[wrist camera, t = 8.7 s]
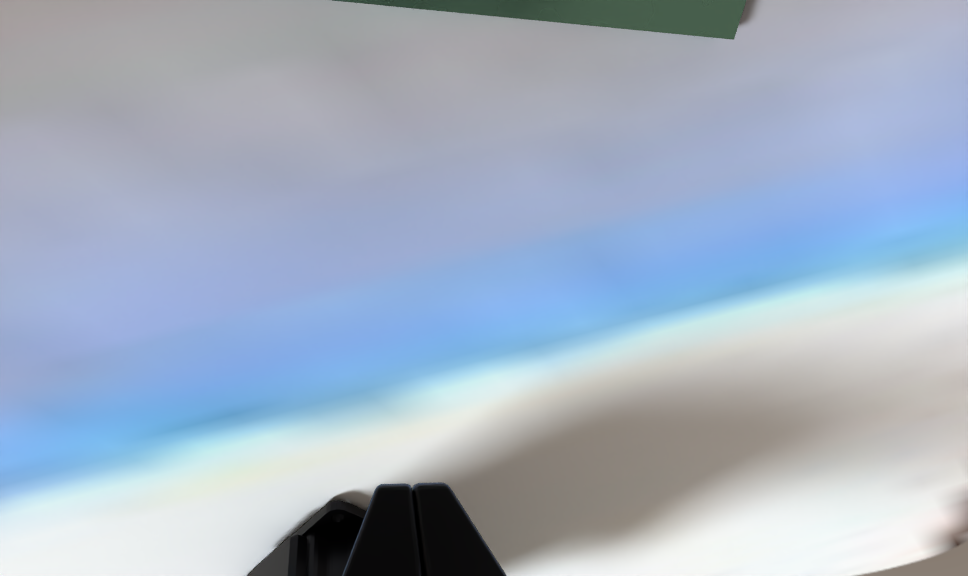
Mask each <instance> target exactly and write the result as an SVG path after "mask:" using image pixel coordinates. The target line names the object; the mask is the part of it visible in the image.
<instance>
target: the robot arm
mask: <svg viewBox="0 0 968 576" xmlns="http://www.w3.org/2000/svg"><path fill="white" fill-rule="evenodd" d="M247 576H506V574H505V573H504V571H503V569H502V568H501V566H500V565H499V563H498V562H497V560H496V558H495V557H494V555H493V554H492V552H491V551H490V549H489V547H488V546H487V544H486V543H485V541H484V540H483V538H482V536H481V535H480V533H479V532H478V530H477V529H476V527H475V525H474V524H473V522H472V521H471V519H470V518H469V516H468V514H467V513H466V511H465V510H464V508H463V507H462V505H461V504H460V502H459V500H458V499H457V497H456V496H455V494H454V493H453V491H452V490H451V488H450V487H449V486H448V485H447V484H445V483H418V484H415V485H414V486H413V488H411V486H410V485H408V484H381V485H379V486H377V488H376V489H375V491H374V494H373V496H372V499H371V501H370V504H369V507H368V509H367V511H365V510H363V509H361V508H358V507H356V506H354V505H352V504H349V503H347V502H344V501H333V502H330V503H328V504H327V505H326V506H324V507H323V508H322V509H321V510H320V511H319V512H318V513H317V514H315V515H314V516H313V517H312V518H311V519H310V520H309V521H308V522H306V523H305V524H304V525H303V526H302V527H301V528H300V529H299V530H298V531H296V532H295V533H294V534H293V535H292V536H290V537H289V538H287V539H286V540H285V541H284V542H283V543H282V544H281V545H280V546H278V547H277V548H276V549H275V550H274V551H273V552H272V553H271V554H270V555H268V556H267V557H266V558H265V559H264V560H263V561H262V562H261V563H259V564H258V565H257V566H256V567H255V568H254V570H253V571H252V572H251V573H249V574H248V575H247Z"/></svg>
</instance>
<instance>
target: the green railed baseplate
mask: <svg viewBox="0 0 968 576" xmlns="http://www.w3.org/2000/svg"><path fill="white" fill-rule="evenodd" d="M334 1H344V2H355V3H365V4H375V5H385V6H396V7H406V8H416V9H426V10H437V11H447V12H457V13H467V14H478V15H488V16H498V17H508V18H519V19H529V20H539V21H549V22H560V23H570V24H580V25H590V26H601V27H611V28H621V29H631V30H642V31H652V32H662V33H672V34H683V35H693V36H703V37H713V38H724V39H734V37H735V34H736V31H737V28H738V25H739V22H740V18H741V15H742V12H743V9H744V6H745V3H746V0H334Z"/></svg>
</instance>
